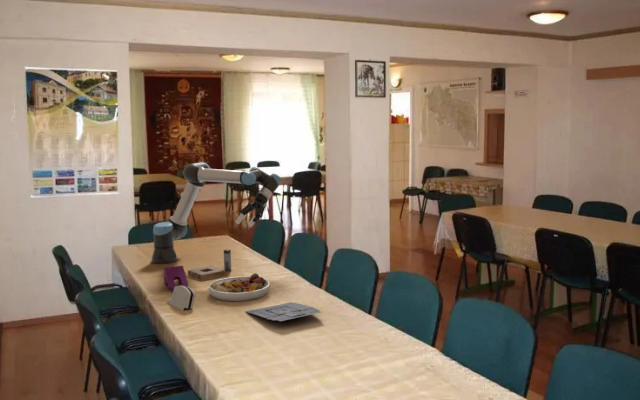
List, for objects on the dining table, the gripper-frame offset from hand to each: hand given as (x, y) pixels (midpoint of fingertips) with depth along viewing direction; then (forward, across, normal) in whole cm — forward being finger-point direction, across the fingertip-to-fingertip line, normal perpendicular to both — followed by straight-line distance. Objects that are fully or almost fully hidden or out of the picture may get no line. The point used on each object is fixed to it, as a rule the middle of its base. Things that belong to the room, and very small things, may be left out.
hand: (243, 224), depth 339 cm
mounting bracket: (+54, -13, +17) cm, 58 cm away
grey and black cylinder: (+26, 0, -10) cm, 28 cm away
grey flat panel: (+44, -85, +6) cm, 96 cm away
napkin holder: (+62, -41, +25) cm, 78 cm away
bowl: (+41, -43, +4) cm, 59 cm away
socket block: (+36, -1, 0) cm, 36 cm away
